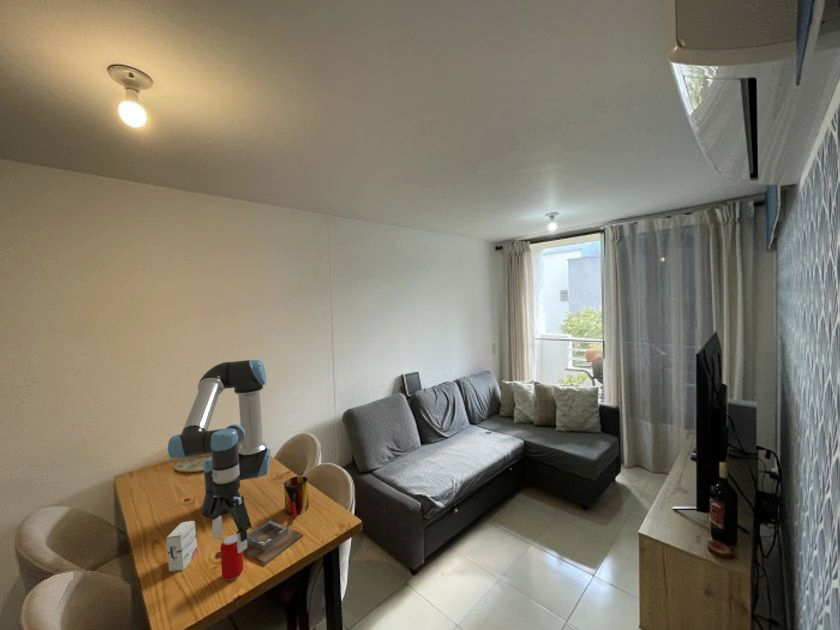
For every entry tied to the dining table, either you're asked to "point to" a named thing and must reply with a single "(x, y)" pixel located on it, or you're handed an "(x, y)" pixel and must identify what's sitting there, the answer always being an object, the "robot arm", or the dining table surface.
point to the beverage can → (231, 558)
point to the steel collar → (264, 546)
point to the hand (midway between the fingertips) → (229, 543)
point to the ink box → (181, 546)
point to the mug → (296, 495)
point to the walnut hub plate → (275, 549)
